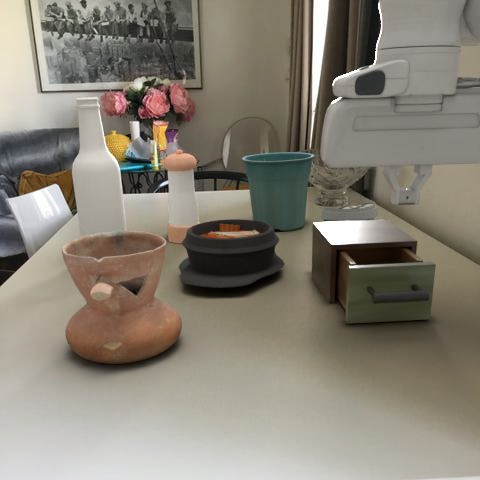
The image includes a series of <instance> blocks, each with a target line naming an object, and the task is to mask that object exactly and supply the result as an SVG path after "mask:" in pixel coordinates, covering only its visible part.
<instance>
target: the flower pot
mask: <svg viewBox="0 0 480 480" xmlns="http://www.w3.org/2000/svg"><path fill="white" fill-rule="evenodd" d="M314 158H315V154H313V153H308V152H307V153H306V152H294V151H292V152H289V151H283V152H266V153H257V154H252V155H251V154H250V155H245V156H243V157H242V158H241V161H242V162H243V163H244V168H245V175H246V178H247V182H248V189H249V197H250V206H251V213H252V214H251V215H252V220H254V221H260V222H264V223H267V224H270V225H271V226H273V229H274V231H275V230H280V231H281V232H286V231H294V230H298V229H300V228H302V227H304V226H305V223H306V213H307V203H308V202H307V201H308V200H307V199H308V190H309V179H310V174H311V171H312V164H313V163H312V162H313V159H314Z"/></svg>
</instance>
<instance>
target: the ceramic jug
mask: <svg viewBox="0 0 480 480" xmlns="http://www.w3.org/2000/svg"><path fill="white" fill-rule="evenodd" d="M166 253H167V240H166V239H165V238H164V237H163V236H161V235H158V234H155V233H151V232H148V231H141V230H140V231H139V230H137V231H136V230H127V231H115V232H107V233H105V232H102V233H97V234H93V235H87V236H83V237H81V236H80V237H78V238H75V239H71V240H70V241H68V242H66V243H65V244H64V245H63V246H61V254H62V258H63V261H64V265H65V267H66V269H67V271H68V273H69V276H70V278H71V280H72V281H73V283H74V285H75V286H76V288H77V290H78V291H79V292H80V295H81V297H83V298H84V300H85V302H86V303H85V304H84V305H83V306H82V307H81V308H80V309H78V310H77V311H75V313H74V314H73V315H72V316H71V317H70V318H69V320H68V321H67V324H66V327H65V334H64V336H65V340H66V342H67V344H68V345H69V347H70V348H71V350H72V351H73V352H74V353H75V354H76V355H77V356H79V357H81V358H83V359H84V360H88V361H90V362H95V363H101V364H106V365H107V364H108V365H123V364H131V363H137V362H141V361H145V360H147V359H150V358H153V357H156V356H157V355H159V354H162V353H164V352H165V351H166V350H168V349H169V348H171V347H172V346H173V345H174V344H175V343H176V342H177V340H178V339H179V337H180V335H181V332H182V326H183V322H182V318H181V315H180V313H179V312H178V311H177V310H176V309H175V308H174V306H172V305H171V304H169V303H167V302H166V301H164V300H162V299H160V298H158V297H156V296H155V294H156V292H157V289H158V287H159V283H160V280H161V277H162V272H163V268H164V265H165V260H166Z"/></svg>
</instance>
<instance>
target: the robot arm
mask: <svg viewBox="0 0 480 480" xmlns="http://www.w3.org/2000/svg"><path fill="white" fill-rule="evenodd" d="M378 10H379V14H380V21H381V23H380V24H381V27H380V33H379V37H378V40H377V42H376V46H375V47H376V48H375V50H376V51H375V60H374V63H373V64H371V65H364V66H362V67H359V68H357V70H354V71H351V72H349V73H346V74H343V75H340V76H338V77H336V78H335V79H334V80H333V83H332V93H333V95H334V96H335V97H337V99H335V100H333V101H332V102H331V103H330V104H329V106H328V107H327V109H326V111H325V114H324V118H323V124H322V130H321V139H320V159H321V161H322V162H323V163H324V164H325V165H326V166H327V167H328V168H331V169H343V168H344V169H346V168H375V167H376V168H377V167H378V168H379V167H383V171H382V174H383V177H384V178H385V180H386V183H387V184H388V186H389V188H390V204H391V205H392V206H409V205H411V206H412V205H413V206H414V205H415V206H416V205H419V203H420V194H421V190H422V189H423V188H424V187H425V185H426V183H427V182H428V181H429V179H430V178H431V176H432V172H433V166H439V165H441V166H442V165H445V166H446V165H472V164H473V165H474V164H475V165H477V164H480V77H472V76H471V77H470V76H465V77H464V76H463V77H462V76H461V77H459V69H460V61H461V60H460V59H461V47H478V46H480V0H378ZM406 166H407V167H408V166H413V173H415V174H417V175H416V176H415V178H414V180H413V181H412V182H411V185H410V186H409V187H401V186H400V183H399V182H398V180H397V177H399V176H401V171H402V170H401V168H402V167H406Z"/></svg>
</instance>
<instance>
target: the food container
mask: <svg viewBox="0 0 480 480" xmlns="http://www.w3.org/2000/svg"><path fill="white" fill-rule="evenodd" d="M322 209H323V210H322V211H321V217H320V219H321V220H323V222H339V221H361V220H375V218H376V217H378V214H379V213H378V206H377V205H376V202H375V201H374V200H371V199H368V198H365V199H364V203H362V204H358V205H344V206H340V207H338V208H332V207H325V206H323V208H322Z"/></svg>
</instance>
